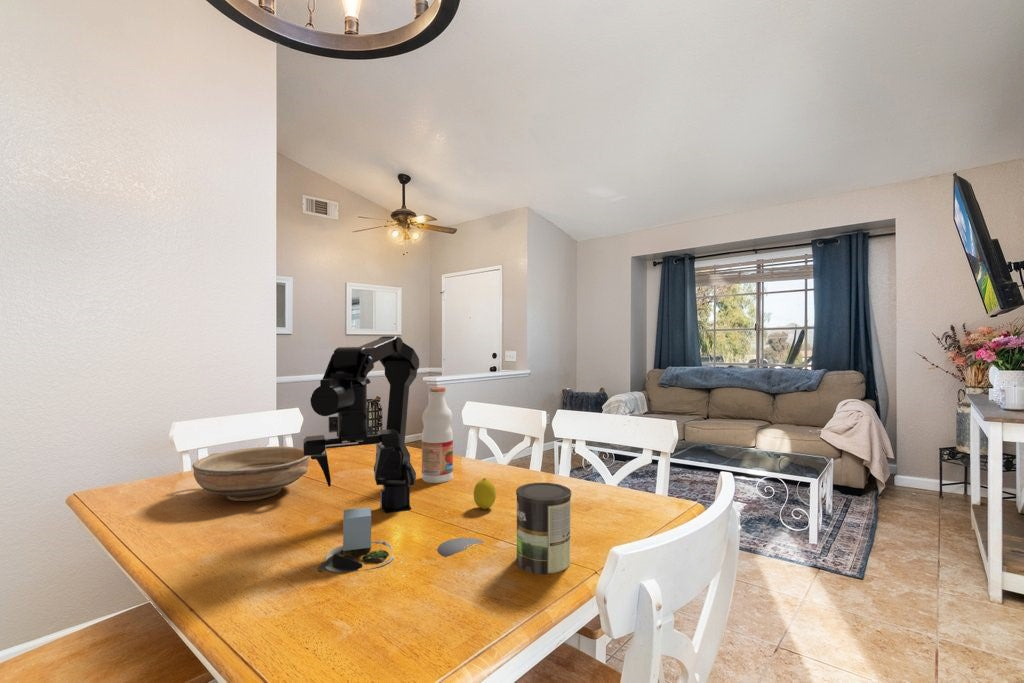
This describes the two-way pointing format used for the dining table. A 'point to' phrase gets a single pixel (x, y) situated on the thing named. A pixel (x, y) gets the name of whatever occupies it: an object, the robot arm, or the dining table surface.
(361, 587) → the dining table surface
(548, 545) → the coffee can
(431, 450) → the fruit juice
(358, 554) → the salad plate
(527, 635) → the dining table surface
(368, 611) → the dining table surface
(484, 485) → the lemon
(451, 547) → the gray coaster
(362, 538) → the slate block
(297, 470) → the ceramic bowl
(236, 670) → the dining table surface
